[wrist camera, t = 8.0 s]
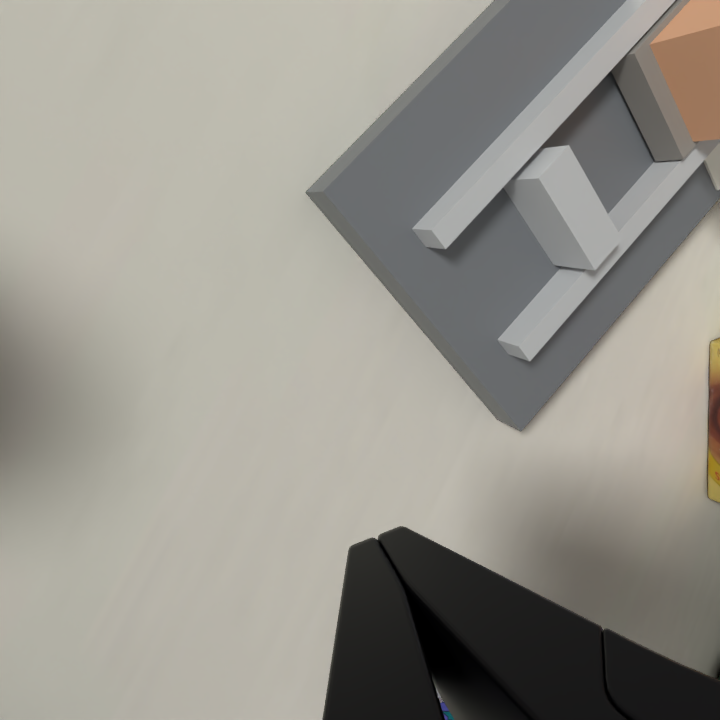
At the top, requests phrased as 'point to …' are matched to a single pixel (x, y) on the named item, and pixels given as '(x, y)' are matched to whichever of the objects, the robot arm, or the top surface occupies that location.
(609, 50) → the board
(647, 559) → the top surface
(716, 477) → the candy box
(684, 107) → the fader tab
